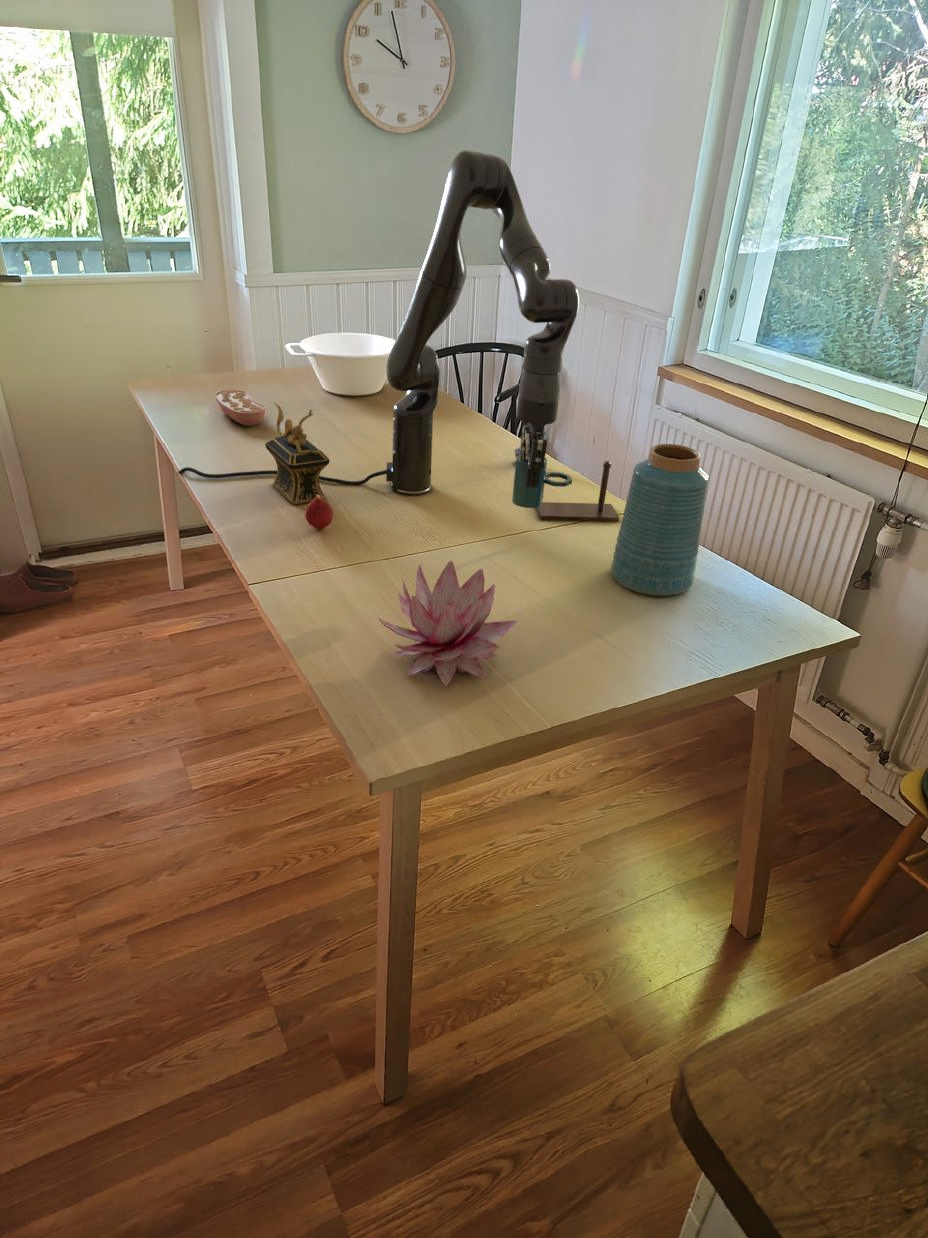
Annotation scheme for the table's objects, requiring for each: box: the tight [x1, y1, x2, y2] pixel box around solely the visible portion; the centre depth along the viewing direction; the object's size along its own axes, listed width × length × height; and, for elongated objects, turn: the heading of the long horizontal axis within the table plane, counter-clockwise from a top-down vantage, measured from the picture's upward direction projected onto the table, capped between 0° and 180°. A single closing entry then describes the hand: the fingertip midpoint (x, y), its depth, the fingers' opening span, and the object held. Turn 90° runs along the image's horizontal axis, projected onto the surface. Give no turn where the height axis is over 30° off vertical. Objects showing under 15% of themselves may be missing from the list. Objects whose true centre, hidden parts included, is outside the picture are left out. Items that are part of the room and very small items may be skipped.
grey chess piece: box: [513, 426, 523, 466], centre depth 217 cm, size 6×6×12 cm
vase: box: [610, 443, 710, 597], centre depth 161 cm, size 16×16×27 cm
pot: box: [285, 332, 396, 397], centre depth 268 cm, size 40×32×14 cm
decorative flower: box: [376, 560, 518, 686], centre depth 134 cm, size 21×21×15 cm
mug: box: [511, 454, 573, 509], centre depth 164 cm, size 11×6×9 cm, turn 94°
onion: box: [304, 495, 334, 531], centre depth 177 cm, size 6×6×8 cm
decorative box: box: [264, 402, 330, 505], centre depth 192 cm, size 20×10×20 cm, turn 31°
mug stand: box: [536, 460, 620, 523], centre depth 191 cm, size 18×8×13 cm, turn 94°
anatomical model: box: [214, 389, 266, 427], centre depth 238 cm, size 23×10×5 cm, turn 32°
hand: (529, 479), depth 163 cm, fingers closed on mug, 6 cm apart
